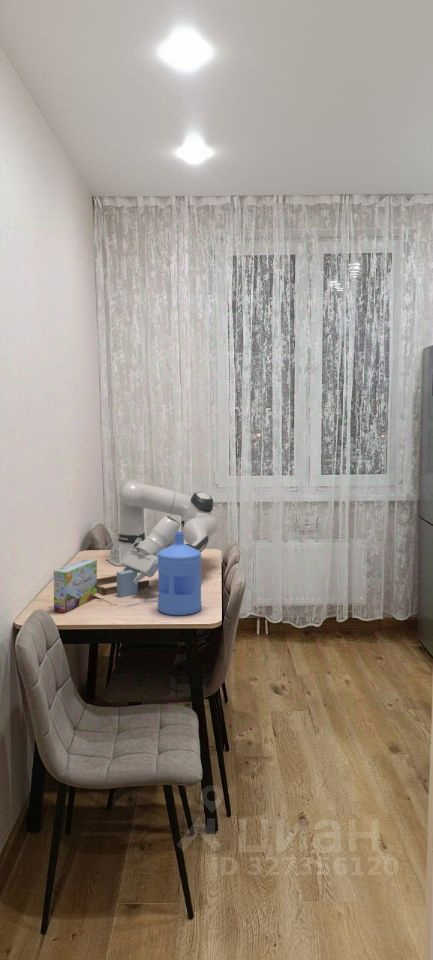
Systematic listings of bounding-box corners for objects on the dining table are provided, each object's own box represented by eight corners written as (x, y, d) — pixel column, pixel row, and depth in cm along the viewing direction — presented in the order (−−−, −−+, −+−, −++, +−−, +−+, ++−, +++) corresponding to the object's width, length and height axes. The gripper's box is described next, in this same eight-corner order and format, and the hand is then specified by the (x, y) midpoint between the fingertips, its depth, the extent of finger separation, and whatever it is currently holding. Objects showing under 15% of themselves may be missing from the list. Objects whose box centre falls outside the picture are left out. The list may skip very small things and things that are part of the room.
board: (116, 598, 243) (116, 572, 242) (132, 594, 247) (132, 569, 246) (121, 600, 240) (121, 574, 239) (137, 597, 244) (137, 571, 243)
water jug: (170, 601, 241) (169, 527, 238) (208, 605, 235) (208, 530, 232) (150, 613, 226) (149, 535, 223) (190, 618, 220) (190, 538, 217)
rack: (86, 590, 255) (86, 580, 254) (132, 582, 267) (132, 572, 267) (103, 599, 243) (103, 589, 242) (151, 590, 255) (151, 580, 255)
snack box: (66, 613, 226) (65, 572, 224) (53, 612, 228) (52, 570, 226) (98, 597, 245) (97, 558, 244) (85, 596, 247) (84, 557, 246)
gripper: (169, 561, 241) (146, 590, 236) (141, 551, 257) (120, 579, 253) (158, 551, 238) (136, 581, 233) (131, 542, 254) (109, 569, 249)
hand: (127, 580), depth 243 cm, fingers open, 8 cm apart
